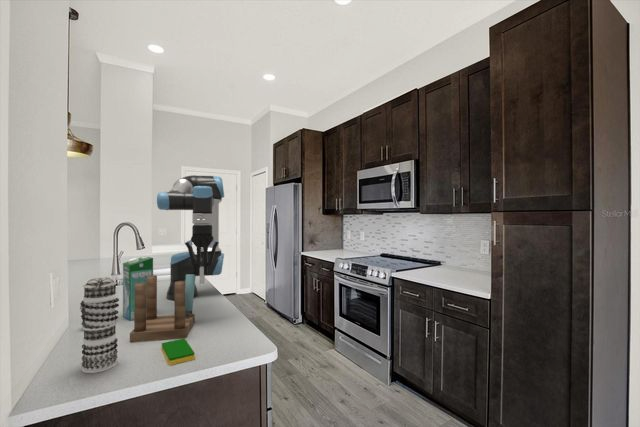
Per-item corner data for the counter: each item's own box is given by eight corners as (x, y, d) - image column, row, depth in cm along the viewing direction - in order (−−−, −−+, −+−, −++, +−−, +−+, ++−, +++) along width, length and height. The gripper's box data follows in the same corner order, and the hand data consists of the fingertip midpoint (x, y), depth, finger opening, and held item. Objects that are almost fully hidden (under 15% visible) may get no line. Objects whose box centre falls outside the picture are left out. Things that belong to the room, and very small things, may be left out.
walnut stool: (147, 323, 127) (147, 275, 127) (195, 320, 131) (195, 273, 131) (129, 342, 109) (130, 285, 109) (185, 337, 113) (186, 283, 113)
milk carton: (122, 315, 136) (122, 257, 136) (145, 311, 143) (145, 255, 143) (129, 320, 130) (129, 259, 130) (153, 315, 137) (153, 257, 137)
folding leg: (183, 308, 129) (186, 274, 129) (193, 308, 129) (196, 274, 130) (181, 311, 125) (185, 275, 125) (191, 311, 126) (194, 276, 126)
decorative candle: (93, 376, 86) (93, 283, 86) (72, 369, 89) (73, 280, 89) (126, 362, 94) (126, 277, 94) (105, 356, 98) (106, 275, 98)
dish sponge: (184, 345, 108) (184, 337, 108) (194, 360, 96) (194, 352, 96) (161, 350, 103) (161, 342, 103) (169, 367, 92) (169, 358, 92)
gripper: (183, 224, 123) (182, 285, 123) (218, 224, 126) (217, 284, 126) (187, 224, 131) (186, 281, 131) (220, 224, 133) (220, 280, 133)
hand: (202, 282), depth 128 cm, fingers closed
